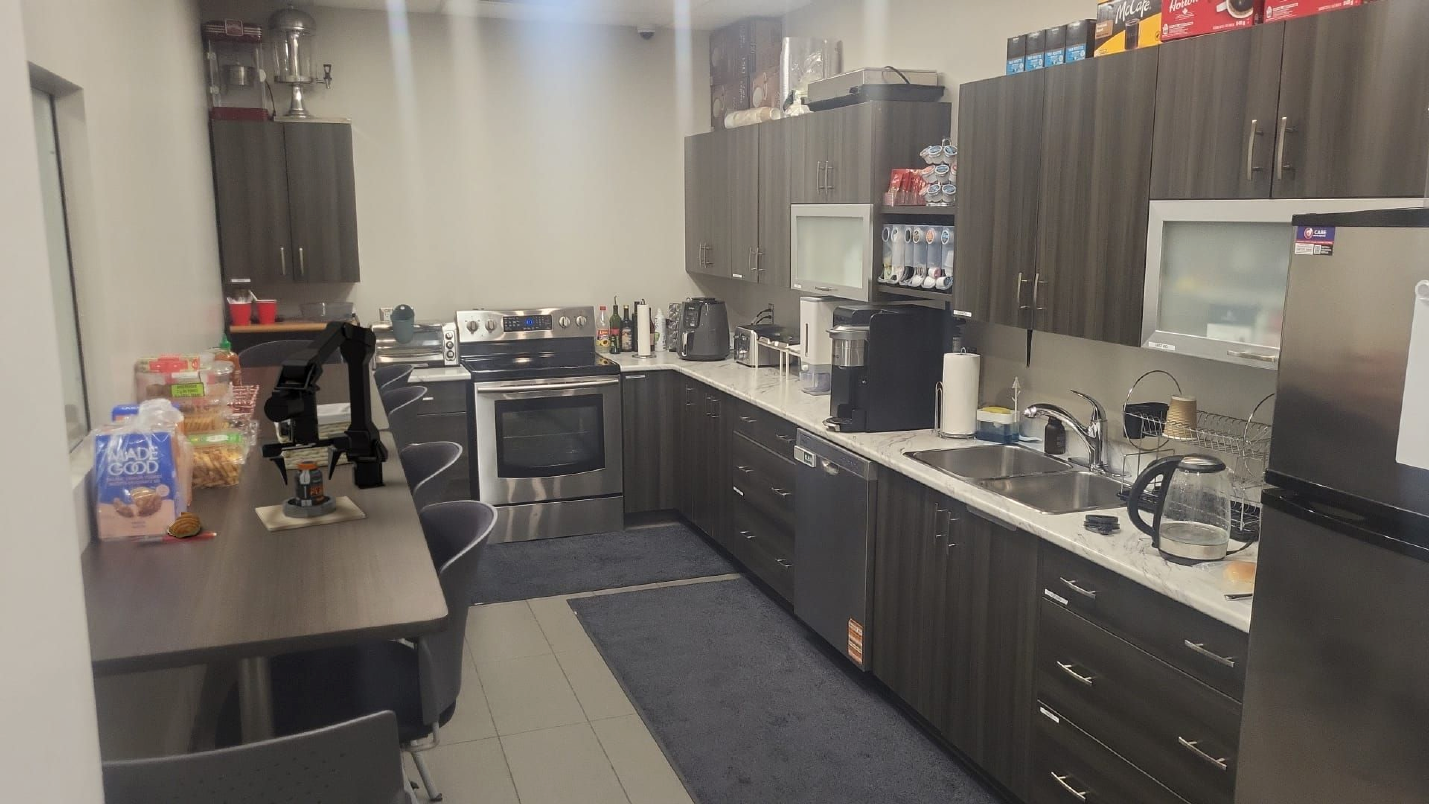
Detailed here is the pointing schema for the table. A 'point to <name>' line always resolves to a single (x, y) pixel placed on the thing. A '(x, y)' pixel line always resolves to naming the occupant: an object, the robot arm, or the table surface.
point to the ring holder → (308, 513)
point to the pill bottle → (308, 484)
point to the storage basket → (320, 435)
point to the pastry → (185, 525)
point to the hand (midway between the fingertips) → (308, 482)
